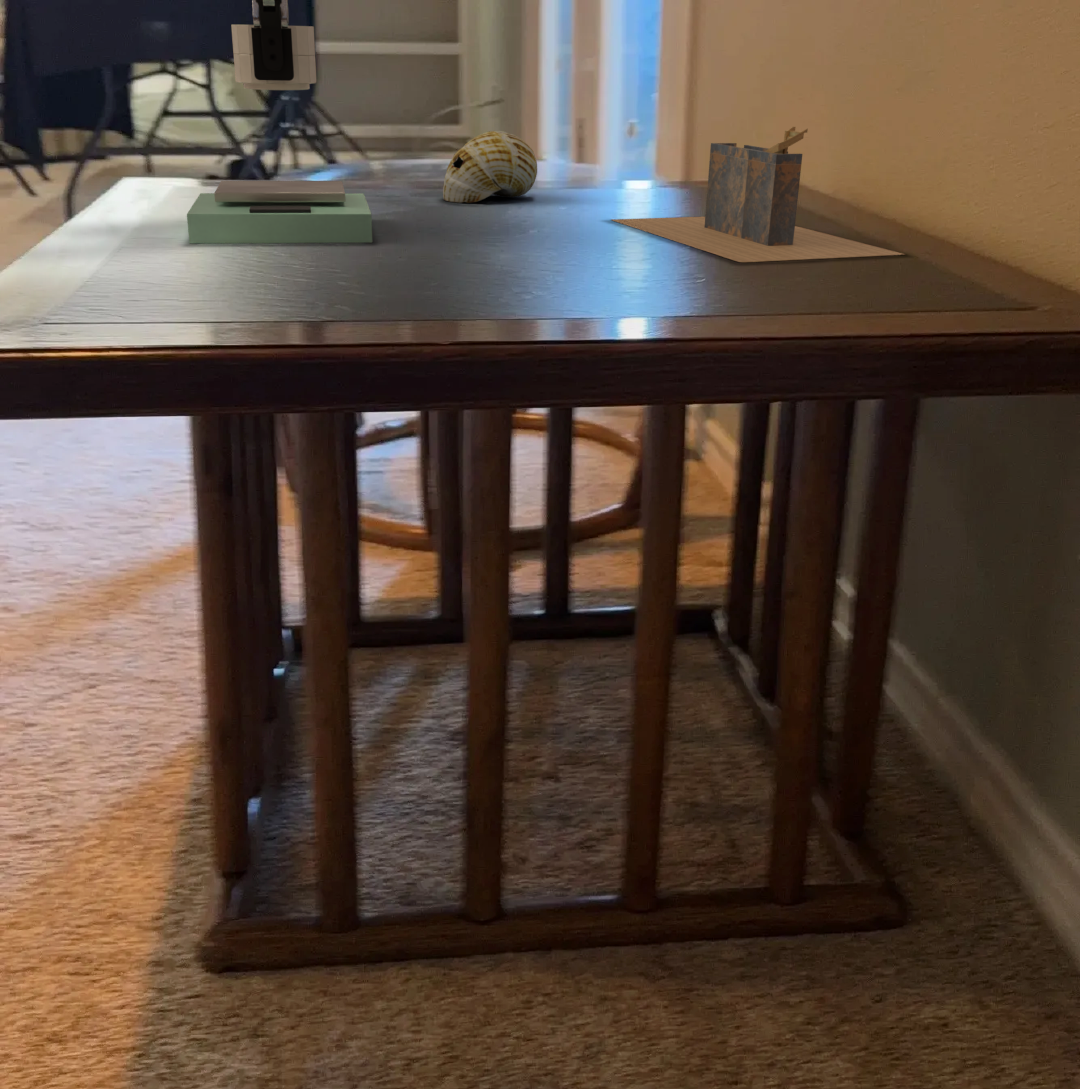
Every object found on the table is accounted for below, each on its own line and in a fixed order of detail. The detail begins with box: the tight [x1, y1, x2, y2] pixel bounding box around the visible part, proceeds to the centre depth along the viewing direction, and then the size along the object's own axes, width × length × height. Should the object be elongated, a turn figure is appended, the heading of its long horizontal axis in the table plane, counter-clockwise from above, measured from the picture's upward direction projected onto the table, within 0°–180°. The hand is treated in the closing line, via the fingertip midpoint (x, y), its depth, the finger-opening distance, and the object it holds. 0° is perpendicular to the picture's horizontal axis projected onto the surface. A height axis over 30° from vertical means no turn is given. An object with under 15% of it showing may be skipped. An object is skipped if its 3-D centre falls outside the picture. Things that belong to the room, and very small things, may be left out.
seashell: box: [442, 130, 538, 204], centre depth 128 cm, size 10×10×10 cm
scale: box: [186, 192, 373, 245], centre depth 104 cm, size 15×14×3 cm
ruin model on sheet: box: [612, 126, 905, 263], centre depth 106 cm, size 25×16×10 cm, turn 22°
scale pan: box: [213, 180, 346, 202], centre depth 105 cm, size 11×9×1 cm
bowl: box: [230, 24, 317, 91], centre depth 101 cm, size 7×7×5 cm
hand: (275, 76), depth 101 cm, fingers closed on bowl, 6 cm apart
